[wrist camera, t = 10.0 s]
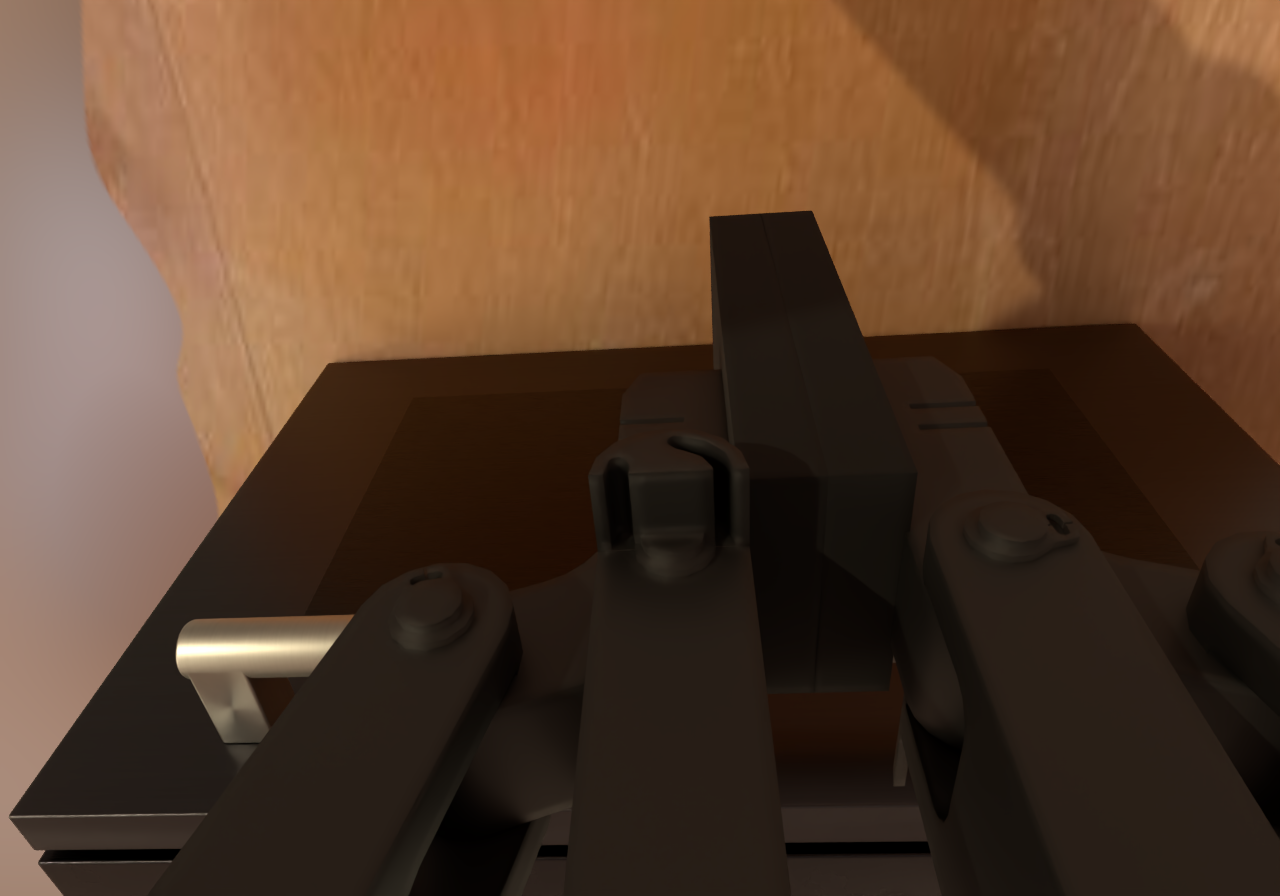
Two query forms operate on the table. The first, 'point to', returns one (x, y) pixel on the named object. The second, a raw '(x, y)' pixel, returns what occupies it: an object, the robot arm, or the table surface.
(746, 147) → the table surface
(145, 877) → the oven
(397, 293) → the table surface
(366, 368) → the oven door
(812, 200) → the table surface
